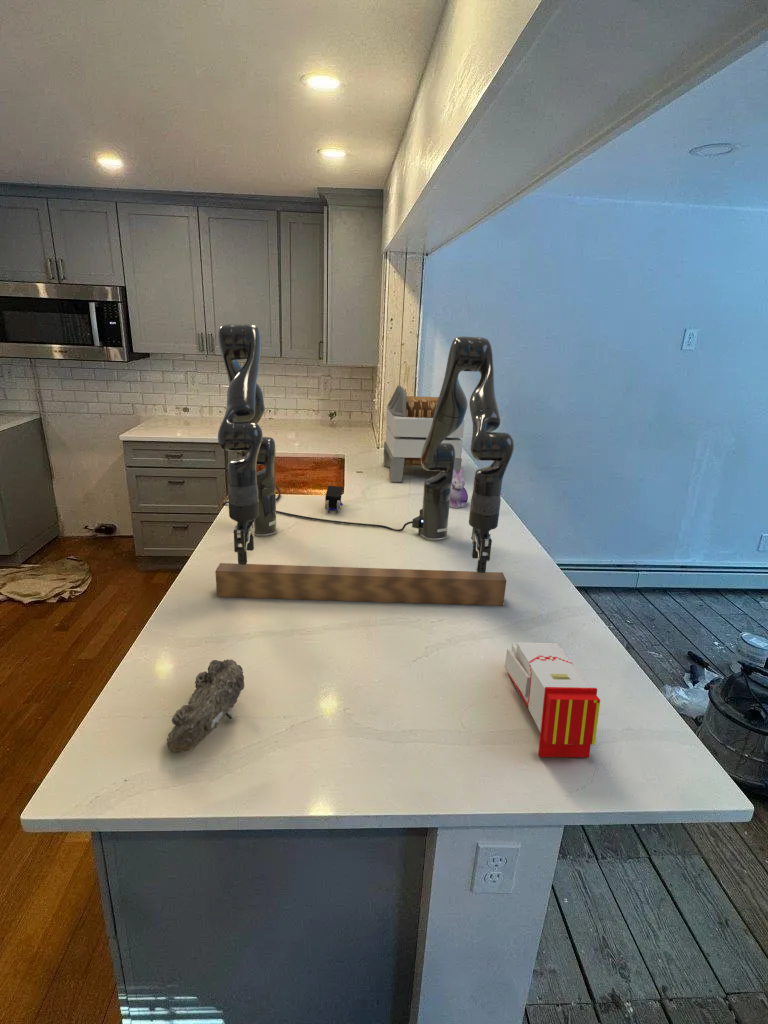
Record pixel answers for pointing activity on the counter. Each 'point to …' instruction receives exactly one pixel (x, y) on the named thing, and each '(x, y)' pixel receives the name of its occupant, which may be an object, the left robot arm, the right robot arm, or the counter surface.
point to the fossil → (206, 705)
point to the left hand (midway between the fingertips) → (246, 556)
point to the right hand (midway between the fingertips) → (478, 564)
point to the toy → (555, 698)
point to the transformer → (412, 432)
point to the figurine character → (333, 498)
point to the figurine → (458, 490)
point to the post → (360, 584)
